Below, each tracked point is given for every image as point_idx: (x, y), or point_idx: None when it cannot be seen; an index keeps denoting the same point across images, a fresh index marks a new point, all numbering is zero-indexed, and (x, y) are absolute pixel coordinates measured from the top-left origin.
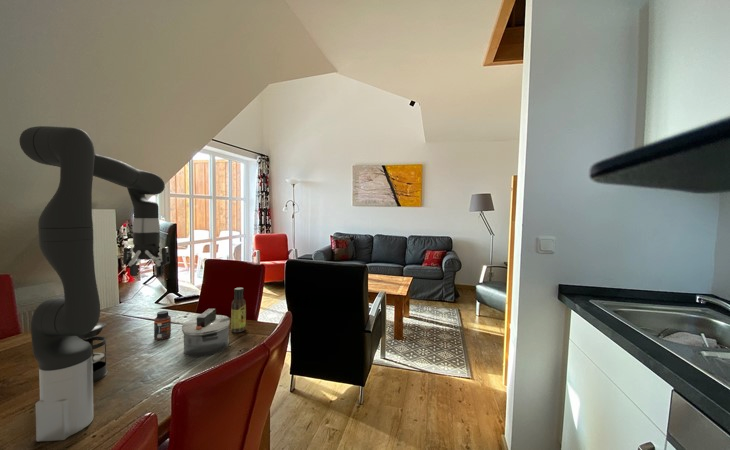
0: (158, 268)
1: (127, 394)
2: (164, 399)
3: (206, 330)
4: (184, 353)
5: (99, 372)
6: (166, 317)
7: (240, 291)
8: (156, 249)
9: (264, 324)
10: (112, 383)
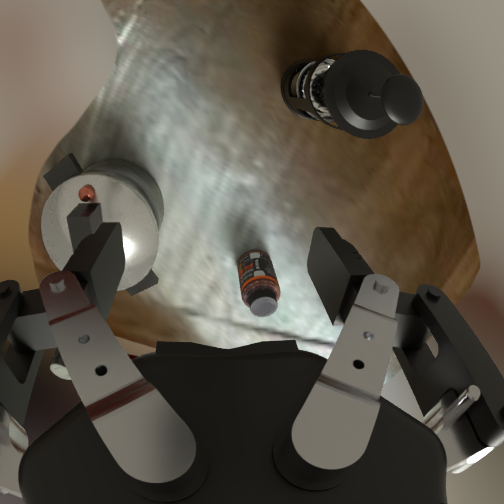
0: (81, 259)
1: (185, 15)
2: (104, 4)
3: (63, 182)
4: (150, 175)
5: (288, 76)
6: (248, 293)
7: (52, 359)
8: (23, 473)
9: None
10: (244, 55)
